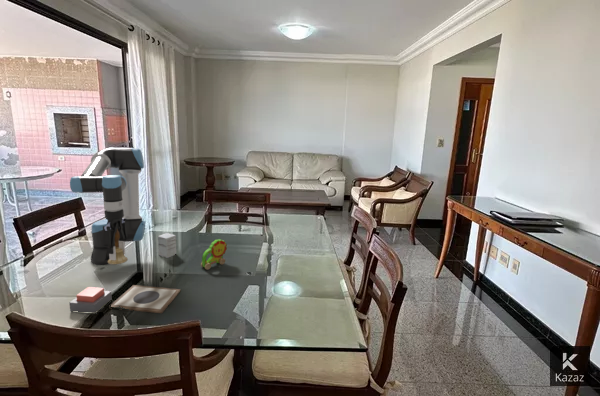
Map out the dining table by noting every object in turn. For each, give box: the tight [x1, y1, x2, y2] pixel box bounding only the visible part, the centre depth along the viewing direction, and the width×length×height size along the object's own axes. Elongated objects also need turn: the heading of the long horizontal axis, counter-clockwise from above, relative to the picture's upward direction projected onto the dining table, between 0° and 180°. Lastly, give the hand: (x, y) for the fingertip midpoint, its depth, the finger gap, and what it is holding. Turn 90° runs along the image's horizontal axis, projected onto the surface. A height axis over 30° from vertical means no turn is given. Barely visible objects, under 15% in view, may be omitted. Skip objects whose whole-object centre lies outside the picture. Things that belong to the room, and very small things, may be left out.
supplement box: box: [157, 232, 177, 259], centre depth 195 cm, size 7×7×13 cm
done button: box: [76, 286, 105, 303], centre depth 141 cm, size 7×7×3 cm
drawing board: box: [110, 284, 182, 314], centre depth 150 cm, size 24×19×1 cm
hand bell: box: [108, 229, 129, 265], centre depth 150 cm, size 8×8×16 cm
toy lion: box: [200, 238, 228, 270], centre depth 186 cm, size 16×5×15 cm, turn 141°
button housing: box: [69, 290, 113, 312], centre depth 141 cm, size 11×11×4 cm
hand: (117, 256), depth 152 cm, fingers closed on hand bell, 6 cm apart
